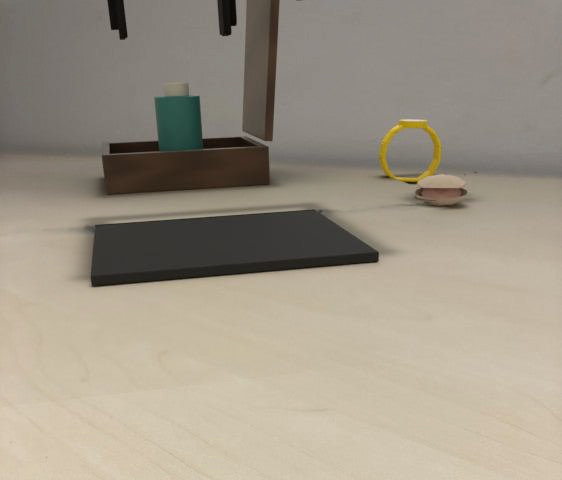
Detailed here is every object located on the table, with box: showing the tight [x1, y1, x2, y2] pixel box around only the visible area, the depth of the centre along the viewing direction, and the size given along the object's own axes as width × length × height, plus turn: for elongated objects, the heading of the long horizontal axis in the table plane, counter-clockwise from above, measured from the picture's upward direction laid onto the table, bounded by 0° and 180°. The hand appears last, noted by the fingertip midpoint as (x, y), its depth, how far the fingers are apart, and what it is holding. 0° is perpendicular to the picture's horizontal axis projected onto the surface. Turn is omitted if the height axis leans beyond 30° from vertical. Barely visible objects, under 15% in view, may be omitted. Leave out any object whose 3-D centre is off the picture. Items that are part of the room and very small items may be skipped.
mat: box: [90, 208, 380, 287], centre depth 49 cm, size 17×17×1 cm
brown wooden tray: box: [101, 135, 271, 196], centre depth 71 cm, size 15×12×4 cm
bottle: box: [153, 81, 204, 151], centre depth 70 cm, size 4×4×9 cm
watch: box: [378, 118, 442, 183], centre depth 70 cm, size 6×3×6 cm, turn 97°
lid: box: [241, 0, 303, 142], centre depth 69 cm, size 16×12×6 cm
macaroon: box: [414, 173, 469, 207], centre depth 59 cm, size 4×5×2 cm
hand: (175, 37), depth 66 cm, fingers open, 9 cm apart
